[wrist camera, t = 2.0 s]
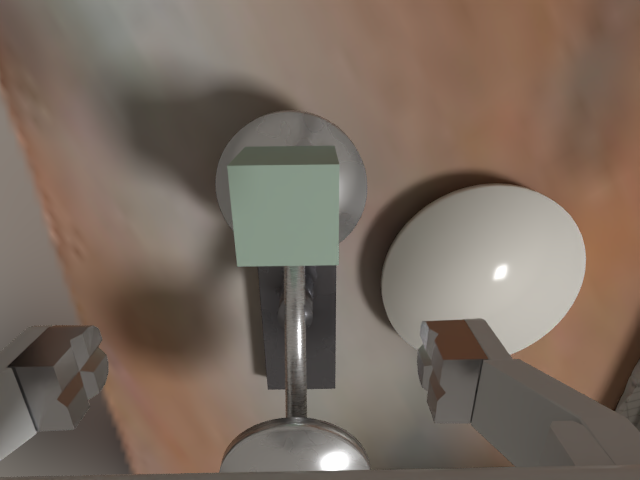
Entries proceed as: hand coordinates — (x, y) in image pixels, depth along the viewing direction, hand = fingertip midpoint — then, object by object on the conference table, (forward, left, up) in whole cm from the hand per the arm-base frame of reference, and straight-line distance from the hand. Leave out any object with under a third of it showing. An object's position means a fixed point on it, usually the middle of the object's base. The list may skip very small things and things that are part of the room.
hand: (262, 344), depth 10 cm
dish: (+7, +12, -16) cm, 21 cm away
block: (-1, 0, -12) cm, 12 cm away
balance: (+7, 0, -16) cm, 17 cm away
